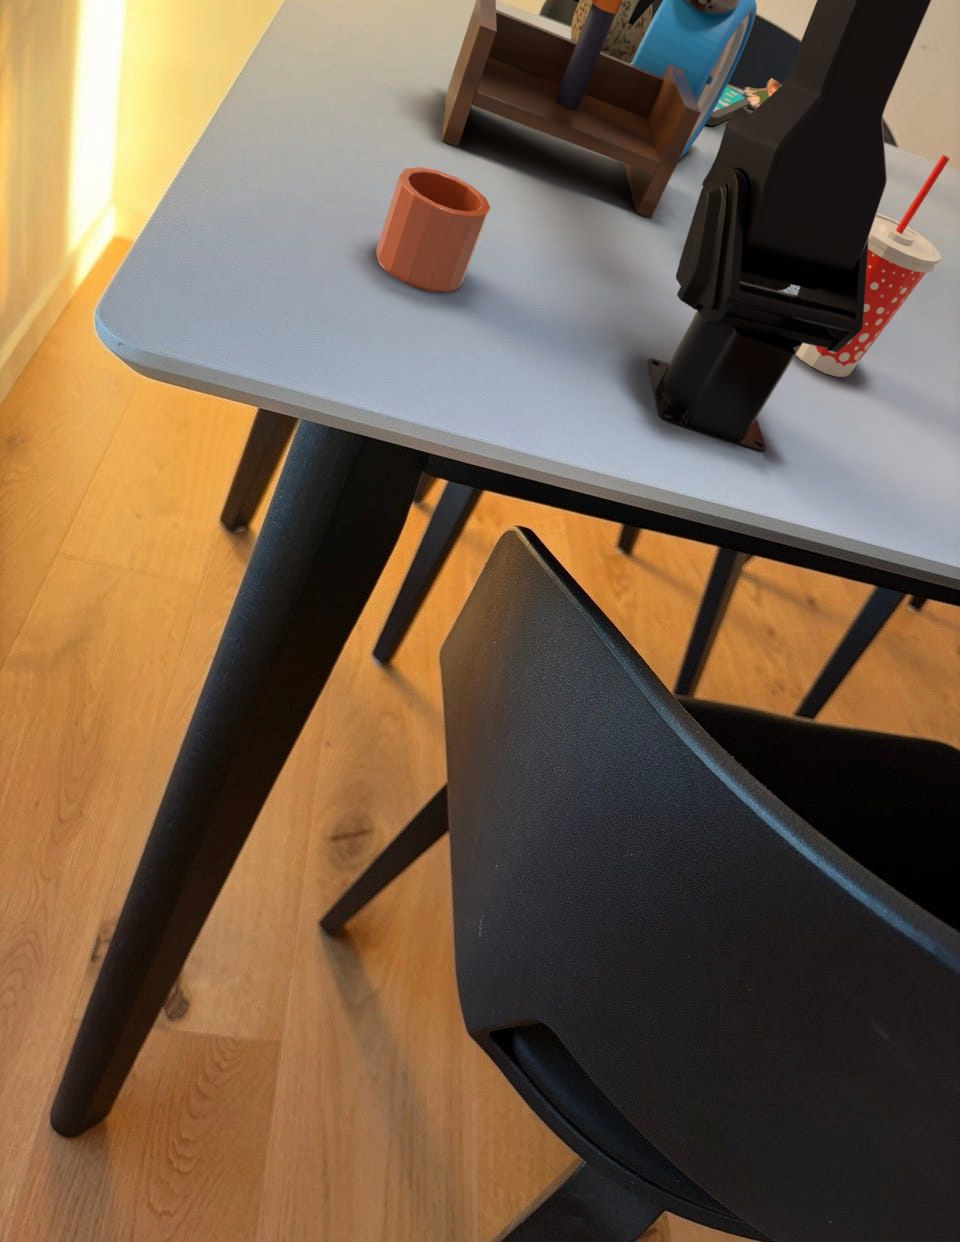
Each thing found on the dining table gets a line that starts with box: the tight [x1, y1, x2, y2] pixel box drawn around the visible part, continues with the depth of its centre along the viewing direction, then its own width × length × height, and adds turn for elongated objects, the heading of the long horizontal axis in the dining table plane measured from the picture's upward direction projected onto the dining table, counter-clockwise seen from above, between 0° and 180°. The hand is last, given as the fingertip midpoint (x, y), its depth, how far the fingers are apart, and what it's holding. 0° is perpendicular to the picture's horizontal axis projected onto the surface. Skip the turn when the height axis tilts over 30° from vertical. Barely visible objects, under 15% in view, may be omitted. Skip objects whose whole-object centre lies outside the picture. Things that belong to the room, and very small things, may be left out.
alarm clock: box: [630, 0, 758, 158], centre depth 91 cm, size 13×6×15 cm, turn 156°
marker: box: [556, 0, 623, 110], centre depth 79 cm, size 2×2×10 cm
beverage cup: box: [795, 154, 950, 378], centre depth 70 cm, size 6×6×14 cm
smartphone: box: [705, 84, 751, 127], centre depth 112 cm, size 9×1×15 cm
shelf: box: [441, 0, 701, 219], centre depth 82 cm, size 10×16×8 cm, turn 90°
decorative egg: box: [570, 0, 653, 64], centre depth 103 cm, size 7×7×10 cm
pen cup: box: [375, 166, 491, 293], centre depth 61 cm, size 5×5×5 cm
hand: (602, 11), depth 78 cm, fingers open, 4 cm apart
